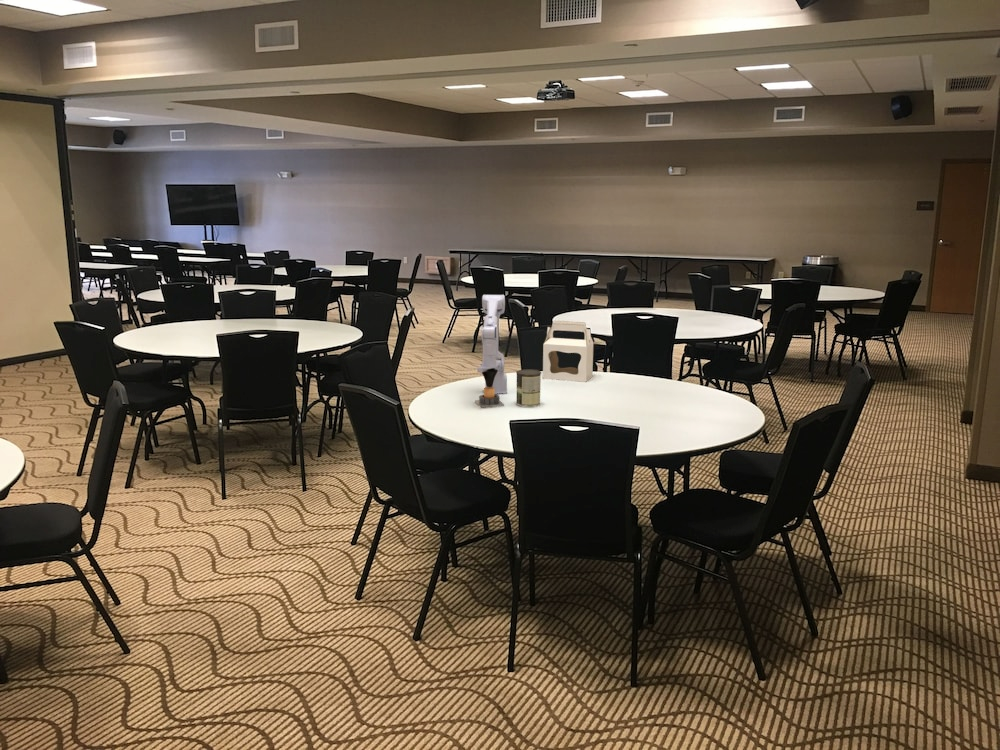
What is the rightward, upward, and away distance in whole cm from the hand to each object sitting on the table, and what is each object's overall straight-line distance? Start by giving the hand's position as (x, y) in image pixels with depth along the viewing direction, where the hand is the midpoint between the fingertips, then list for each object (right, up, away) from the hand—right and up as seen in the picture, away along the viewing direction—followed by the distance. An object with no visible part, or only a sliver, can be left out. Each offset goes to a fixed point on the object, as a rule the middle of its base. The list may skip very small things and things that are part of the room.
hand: (489, 386), depth 322 cm
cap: (0, -7, +1) cm, 7 cm away
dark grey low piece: (0, -8, +2) cm, 8 cm away
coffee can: (+16, -8, +2) cm, 18 cm away
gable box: (+38, +3, +56) cm, 67 cm away
